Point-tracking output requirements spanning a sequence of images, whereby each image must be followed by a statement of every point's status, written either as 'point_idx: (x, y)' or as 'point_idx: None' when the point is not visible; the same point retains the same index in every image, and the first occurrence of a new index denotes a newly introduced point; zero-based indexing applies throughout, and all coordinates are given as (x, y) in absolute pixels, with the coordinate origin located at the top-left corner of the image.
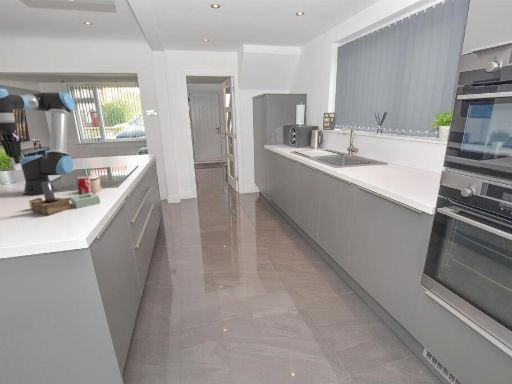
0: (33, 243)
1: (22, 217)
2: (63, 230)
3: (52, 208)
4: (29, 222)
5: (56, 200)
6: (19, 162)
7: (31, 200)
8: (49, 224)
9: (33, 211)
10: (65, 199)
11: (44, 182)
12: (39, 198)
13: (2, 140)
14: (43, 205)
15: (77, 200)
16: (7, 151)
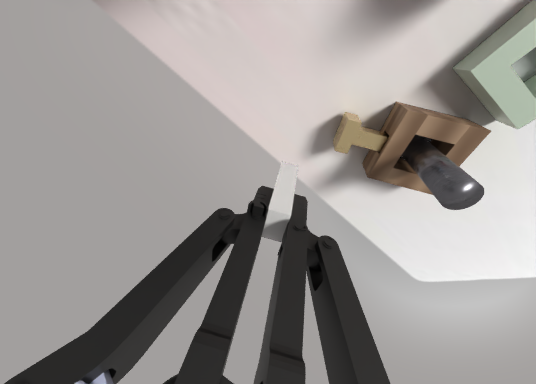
0: (461, 279)
1: (353, 187)
2: (501, 249)
3: None
4: (394, 213)
5: (434, 138)
6: (305, 202)
7: (341, 147)
8: (452, 224)
9: (363, 165)
10: (477, 136)
11: (456, 203)
12: (354, 125)
13: (123, 373)
14: (419, 190)
15: (525, 121)
16: (216, 257)
